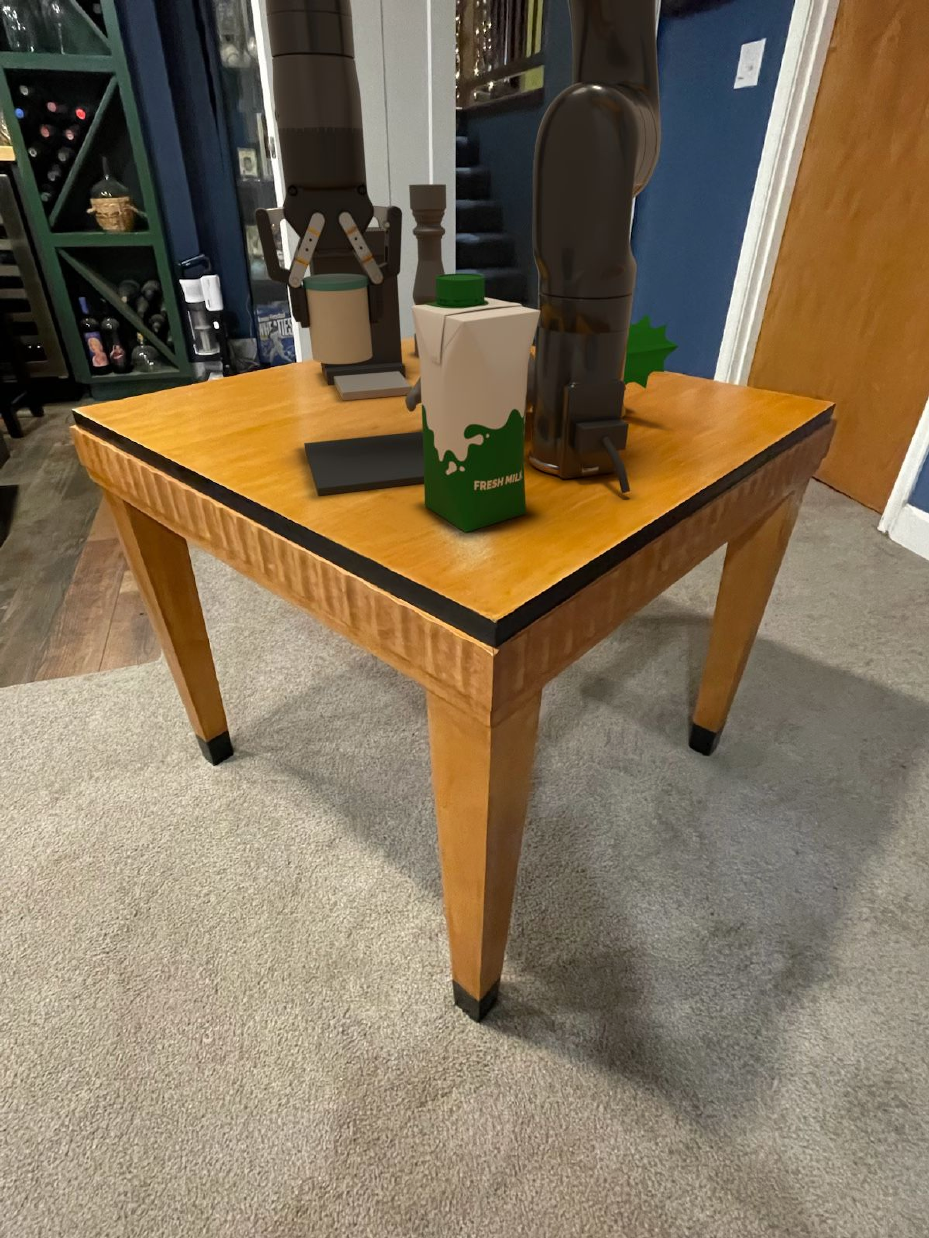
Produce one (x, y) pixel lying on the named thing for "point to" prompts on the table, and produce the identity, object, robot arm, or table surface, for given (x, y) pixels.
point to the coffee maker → (385, 365)
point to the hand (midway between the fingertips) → (339, 324)
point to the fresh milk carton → (473, 401)
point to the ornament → (645, 352)
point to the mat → (366, 462)
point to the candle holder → (427, 240)
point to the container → (338, 318)
